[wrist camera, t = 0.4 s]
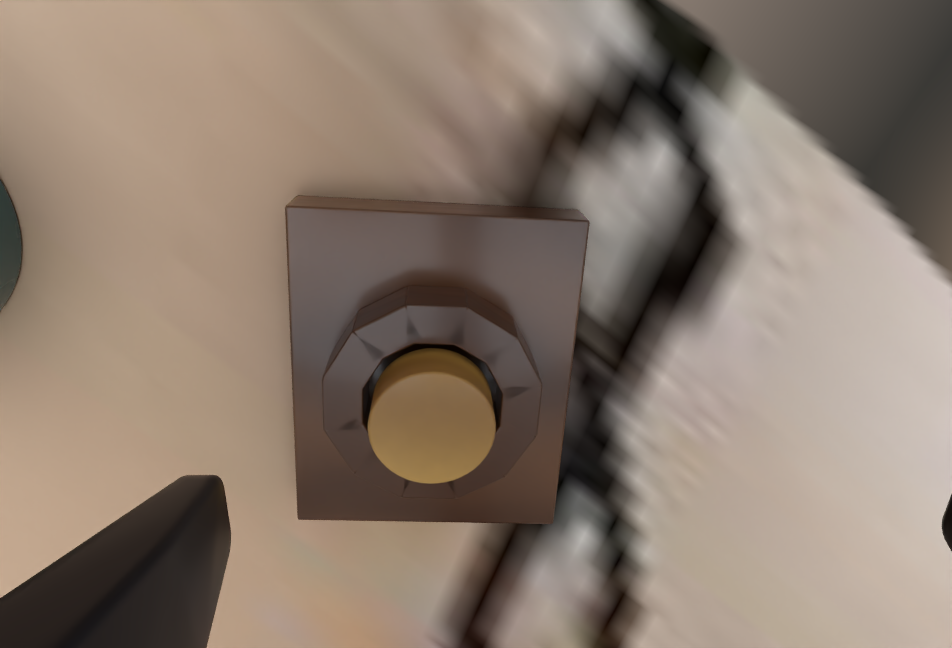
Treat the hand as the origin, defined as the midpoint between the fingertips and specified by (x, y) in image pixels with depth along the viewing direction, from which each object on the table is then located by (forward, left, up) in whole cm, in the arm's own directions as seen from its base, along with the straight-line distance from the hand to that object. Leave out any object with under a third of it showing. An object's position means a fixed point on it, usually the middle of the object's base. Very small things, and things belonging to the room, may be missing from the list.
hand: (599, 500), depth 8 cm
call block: (-5, +2, -15) cm, 15 cm away
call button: (-5, +2, -12) cm, 13 cm away
